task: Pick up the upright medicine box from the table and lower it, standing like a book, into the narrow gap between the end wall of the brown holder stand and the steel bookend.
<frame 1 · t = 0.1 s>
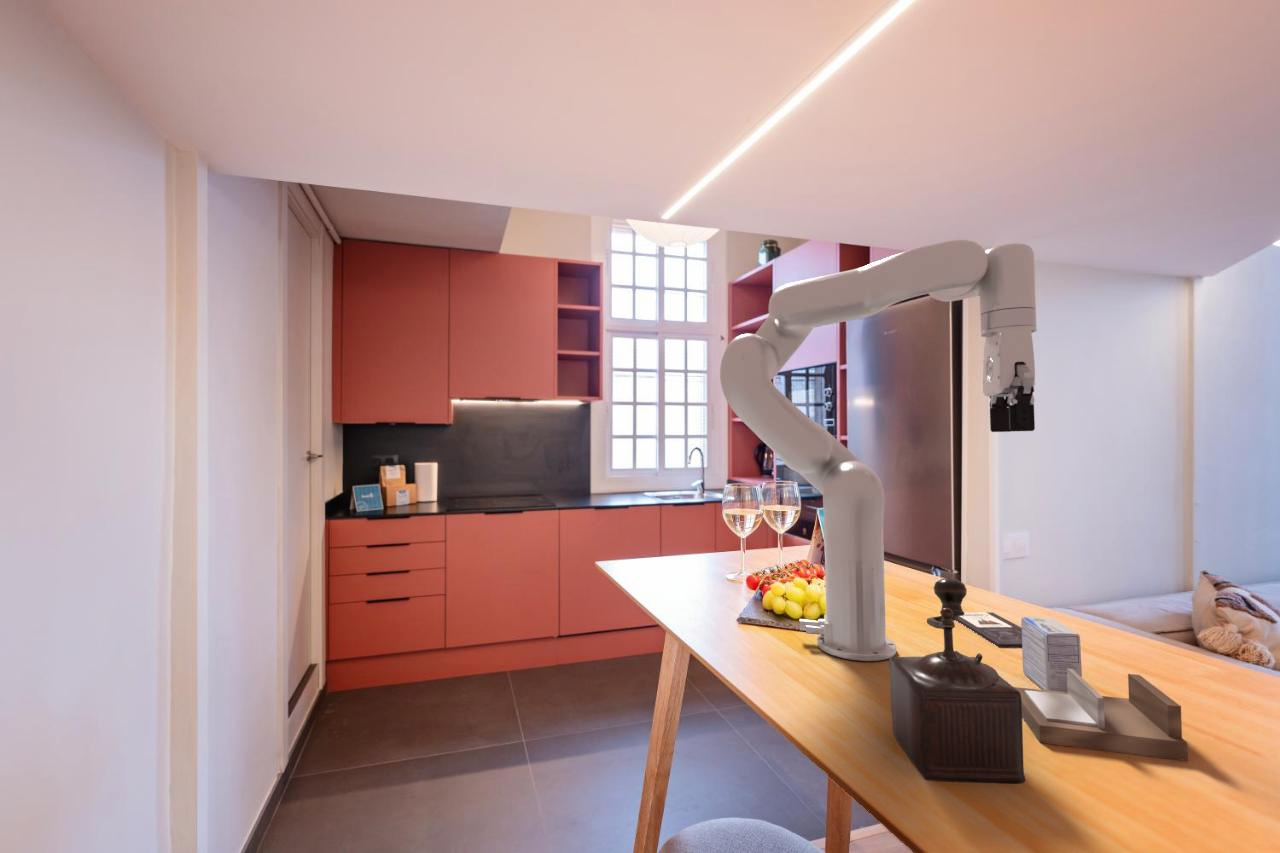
hand: (1011, 431, 92), 37 cm above the table, tool pointing down, fingers open, 9 cm apart
brown holder stand: (1090, 728, 71), on the table
brown coffee grinder: (945, 745, 68), on the table
chocolate bar: (995, 633, 108), on the table
medicine box: (1051, 687, 83), on the table
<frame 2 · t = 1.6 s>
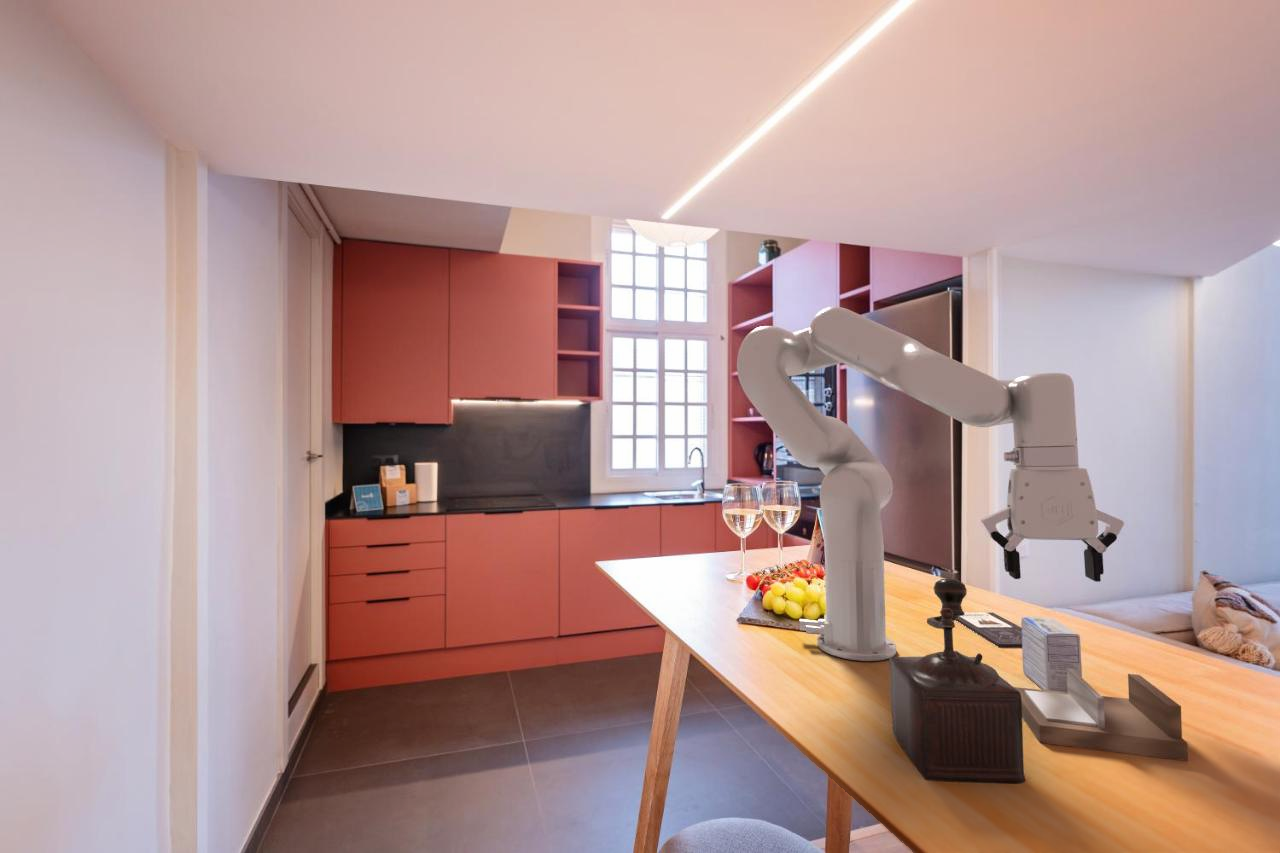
hand: (1053, 578, 84), 15 cm above the table, tool pointing down, fingers open, 9 cm apart
nothing on the table moved.
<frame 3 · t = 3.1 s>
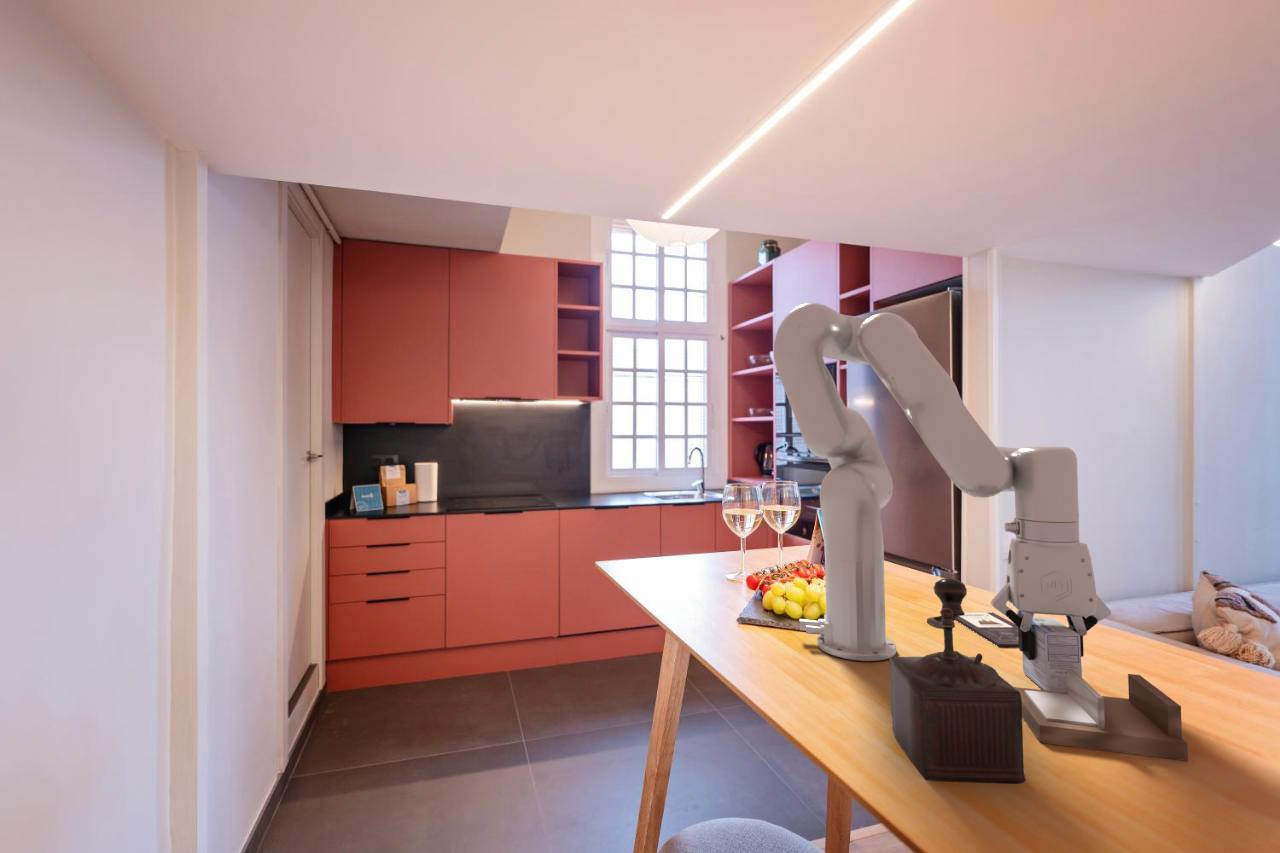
hand: (1050, 657, 84), 4 cm above the table, tool pointing down, fingers closed on medicine box, 4 cm apart
medicine box: (1051, 686, 83), on the table, touching gripper
everything else where it was.
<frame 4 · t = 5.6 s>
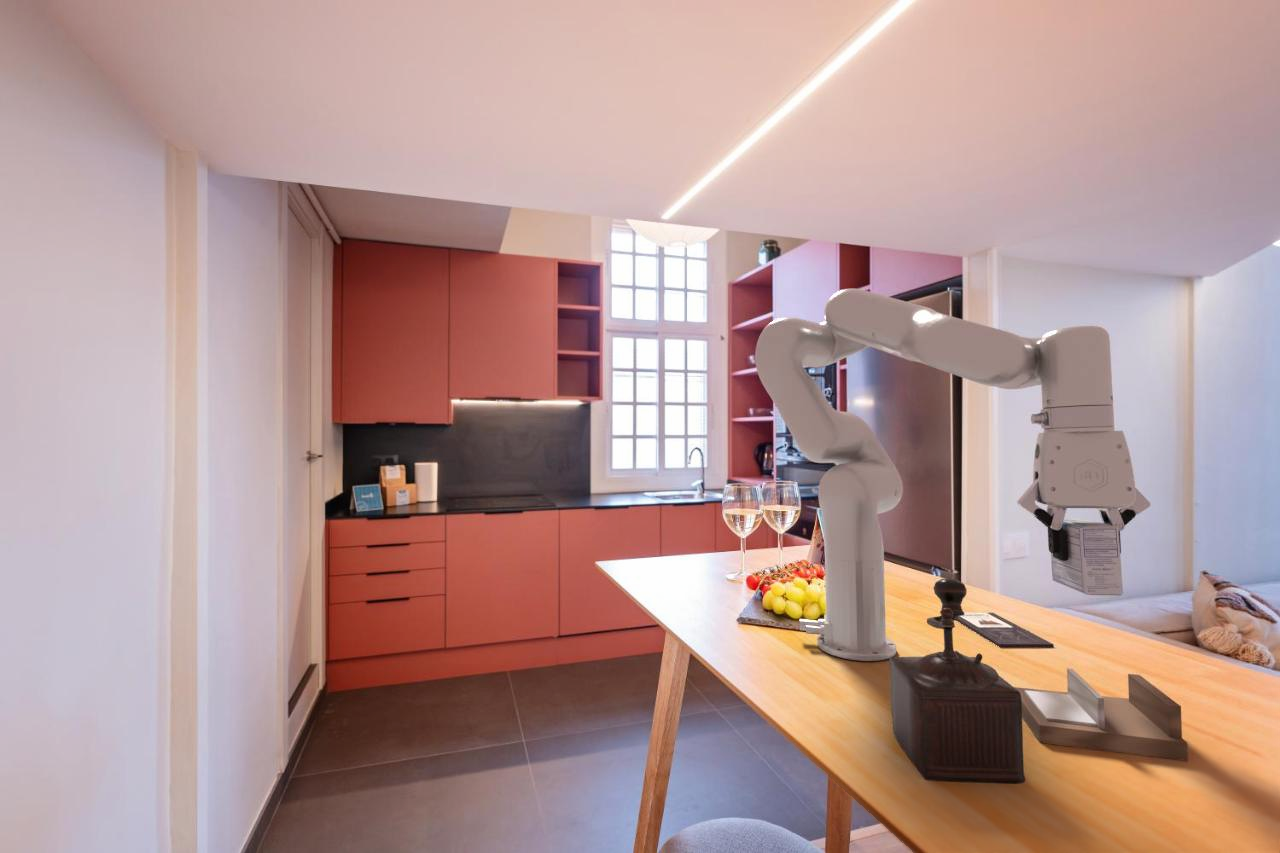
hand: (1084, 558, 76), 20 cm above the table, tool pointing down, fingers closed on medicine box, 4 cm apart
medicine box: (1085, 590, 76), point 16 cm above the table, touching gripper
everything else where it was.
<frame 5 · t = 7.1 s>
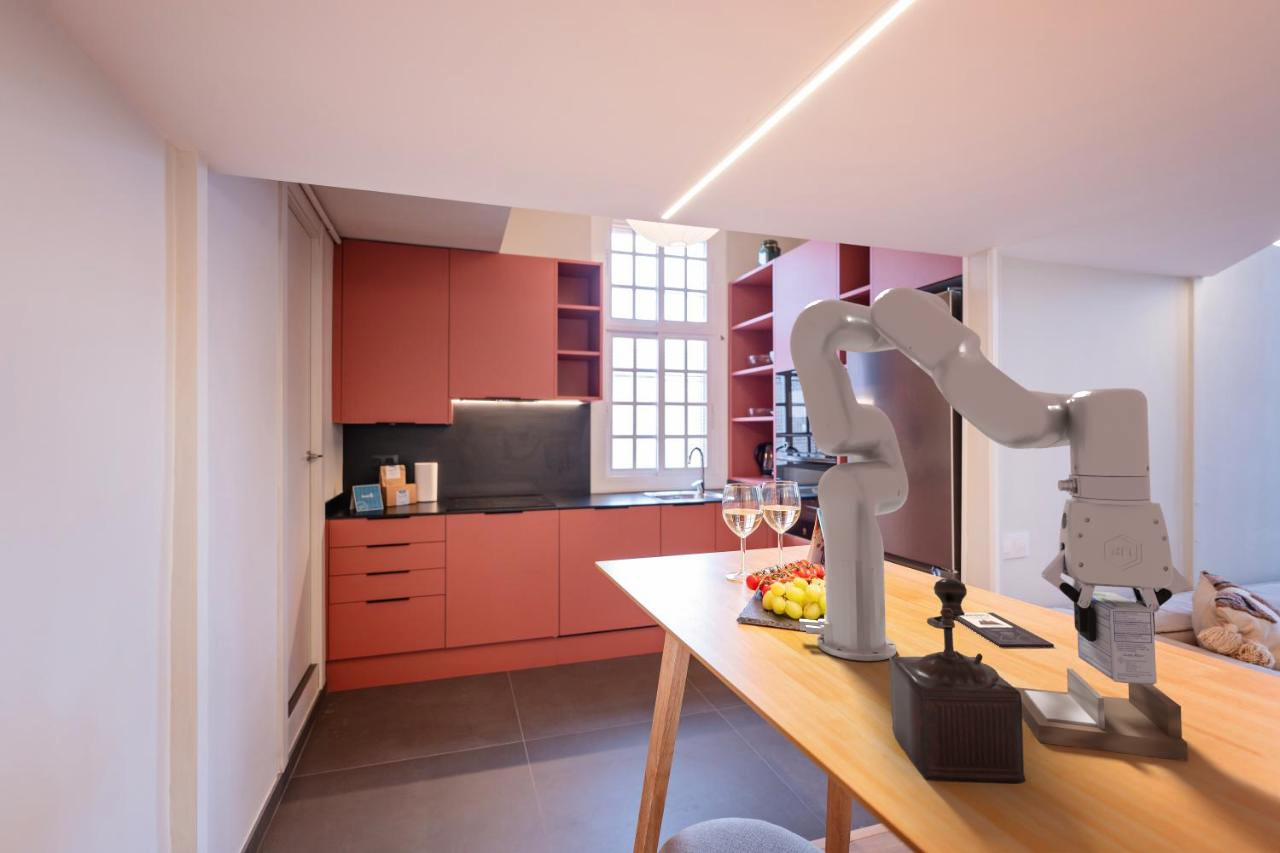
hand: (1113, 638, 71), 11 cm above the table, tool pointing down, fingers closed on medicine box, 4 cm apart
medicine box: (1114, 672, 71), point 7 cm above the table, touching gripper
everything else where it was.
when the fingers open (7 cm above the table, at t = 8.3 s): medicine box stays where it is, resting on brown holder stand.
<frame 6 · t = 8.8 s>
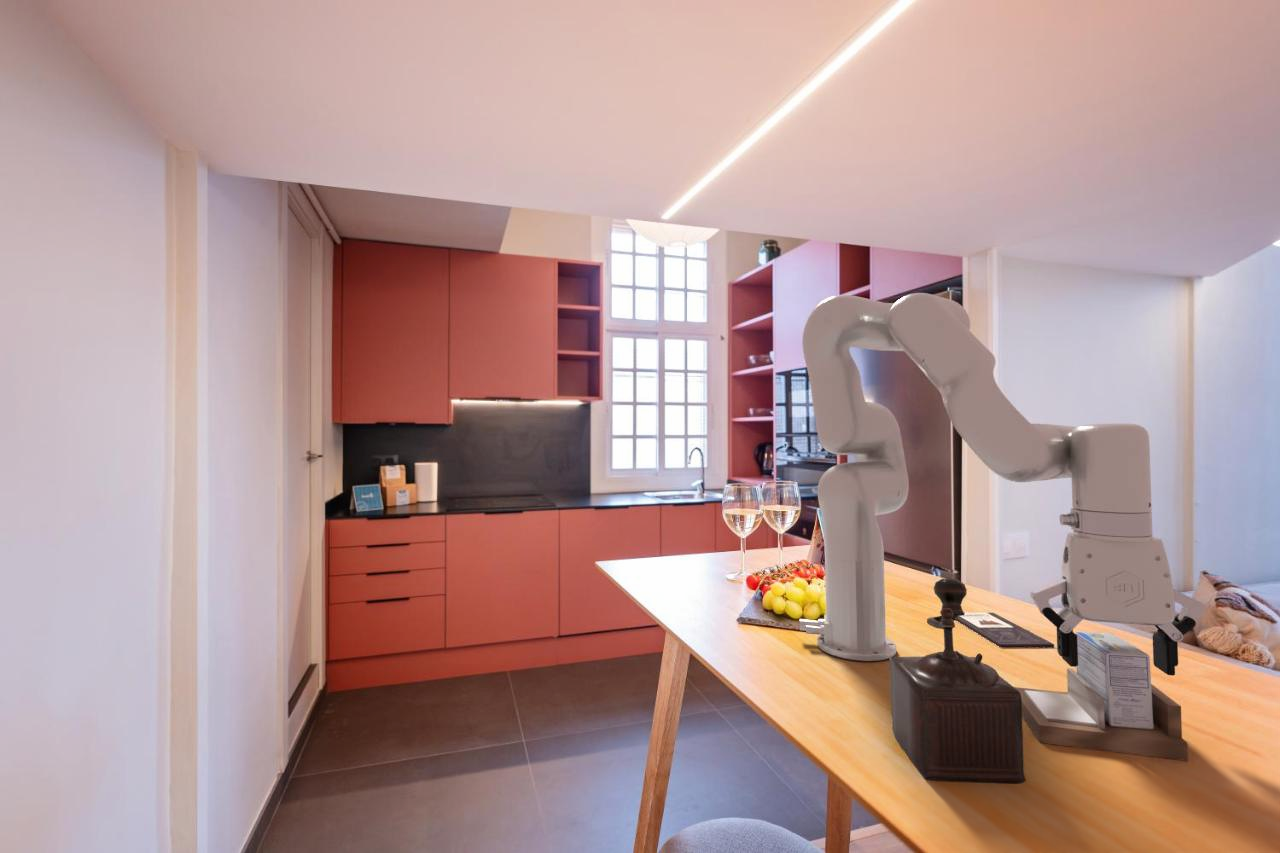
hand: (1115, 666, 70), 8 cm above the table, tool pointing down, fingers open, 9 cm apart
medicine box: (1113, 715, 71), point 2 cm above the table, touching brown holder stand
everything else where it was.
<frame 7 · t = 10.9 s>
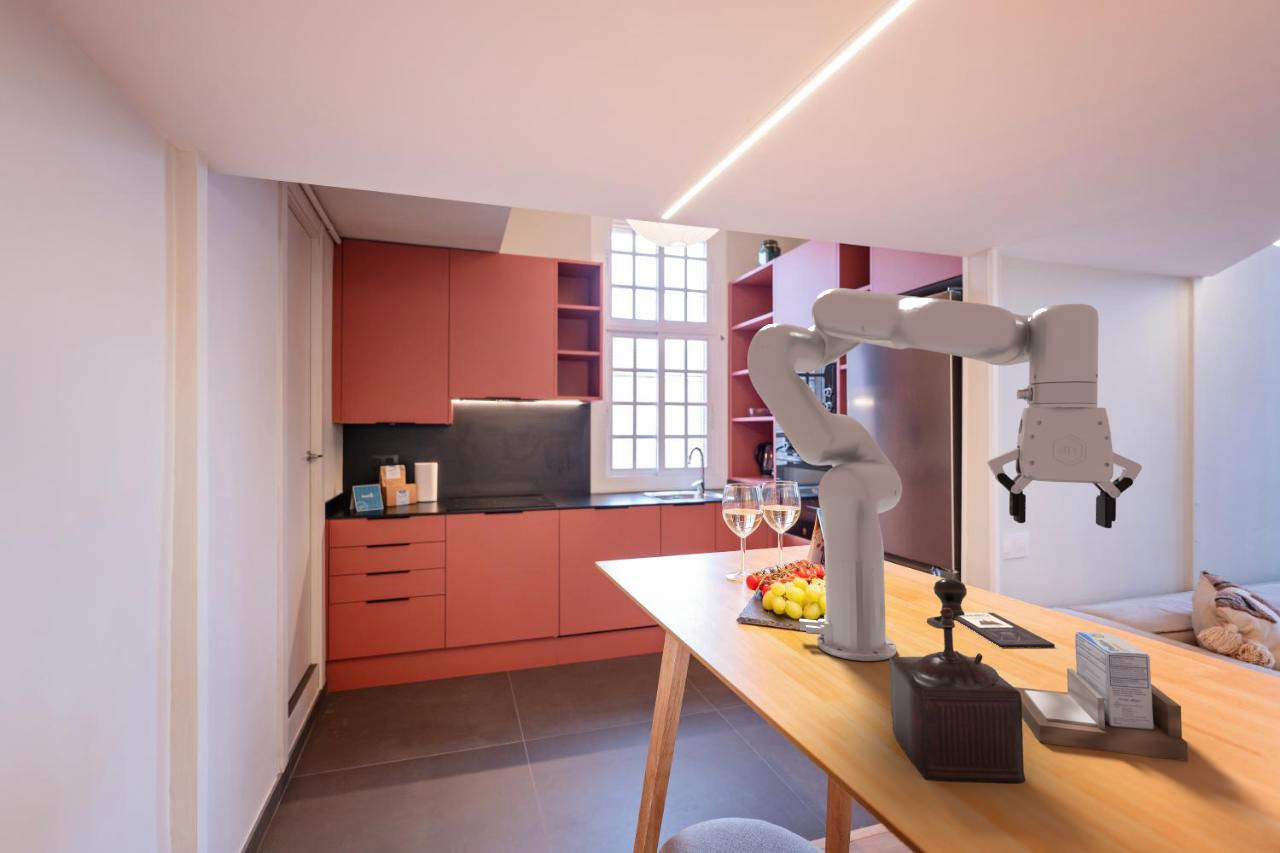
hand: (1060, 524, 79), 24 cm above the table, tool pointing down, fingers open, 9 cm apart
nothing on the table moved.
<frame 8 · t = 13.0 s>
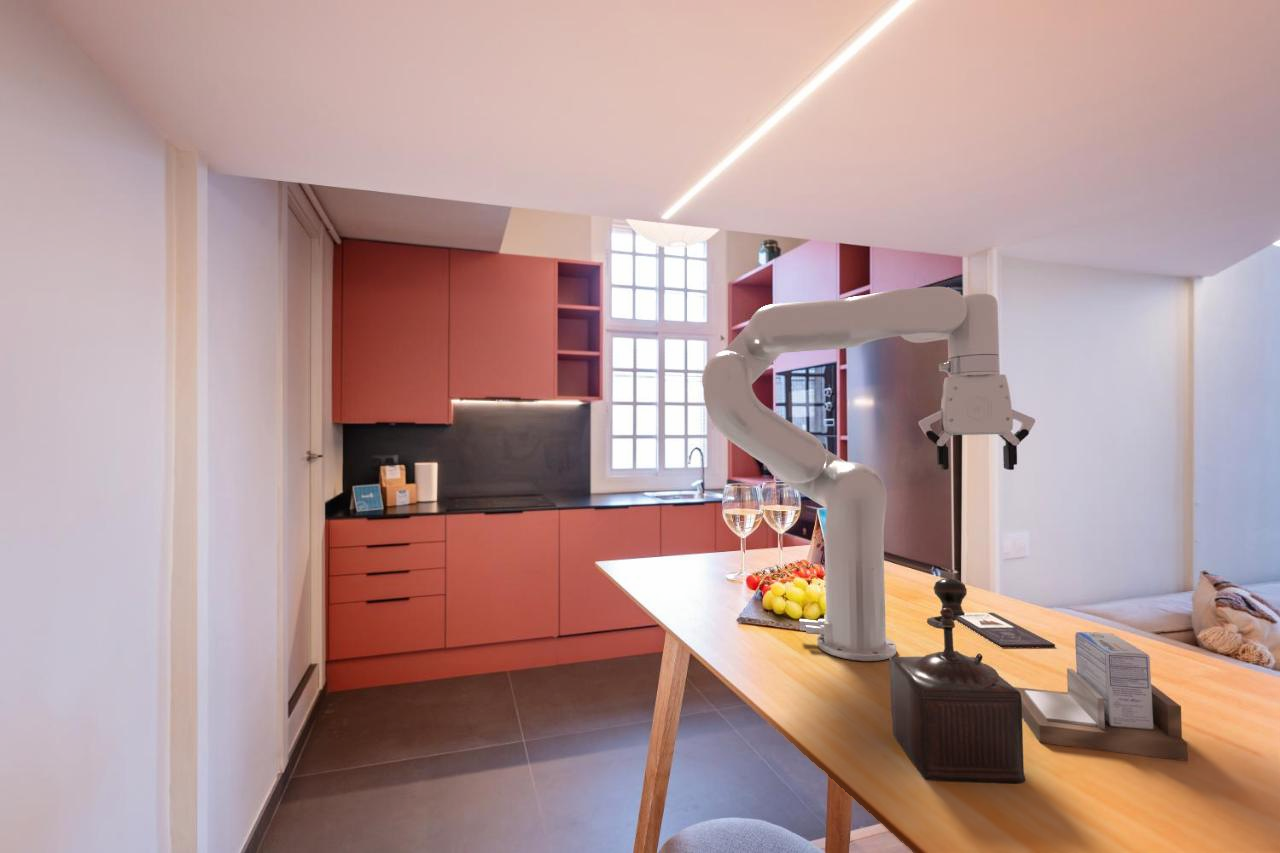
hand: (976, 469, 98), 30 cm above the table, tool pointing down, fingers open, 9 cm apart
nothing on the table moved.
at the end: medicine box 0.4 cm from the target spot on the brown holder stand, point 1.8 cm above the brown holder stand's base; medicine box tilted 0°; the gripper is holding nothing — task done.
